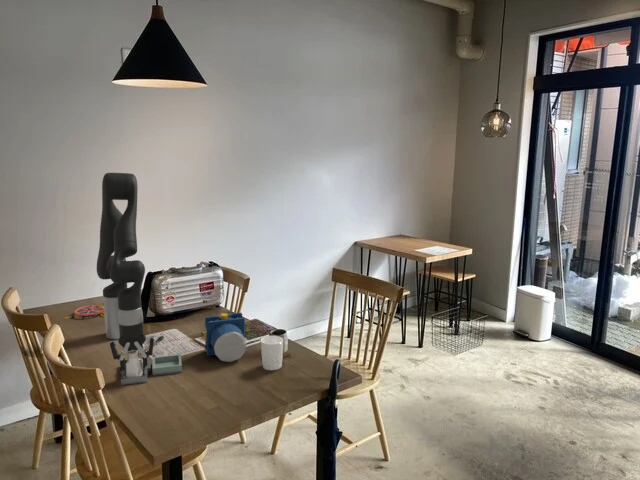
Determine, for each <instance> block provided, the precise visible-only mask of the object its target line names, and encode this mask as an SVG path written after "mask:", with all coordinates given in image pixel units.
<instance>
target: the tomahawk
mask: <svg viewBox="0 0 640 480" xmlns="http://www.w3.org/2000/svg"><path fill="white" fill-rule="evenodd" d="M164 338H165V337H164V335H160V336H159V337H157V339H156V340H154V344H153V347H155V346H156V345H157V343H158V344H159V343H160V342H161V341H162V340H163V339H164ZM144 349H145V351H147V350H148V351H149V345H148V346H147V347H144ZM139 355H142V354H141V353H140V352H138V357H139Z"/></svg>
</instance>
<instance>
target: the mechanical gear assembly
mask: <svg viewBox="0 0 640 480" xmlns="http://www.w3.org/2000/svg"><path fill="white" fill-rule="evenodd" d="M80 310H81V311H80ZM73 312H74V313H72V314H71V315H70V316H67V317H63V318H64V319H65V320H67V319H71V318H72V319H74V318H78V317H86V316H88V317H89V316H96V315H100V316H101V317H102V318H105V313H104V301H103V302H102V303H99V304H94V305H92V304H91V305H84V306H80V307H78V308H76V309H75V310H74V311H73Z"/></svg>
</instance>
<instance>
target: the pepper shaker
mask: <svg viewBox="0 0 640 480" xmlns="http://www.w3.org/2000/svg"><path fill="white" fill-rule="evenodd" d="M138 354H139V350H132V351H127V358H128V359H127V360H128V361H127V362H126V375H125V376H126V378H129V377H137V376H144V375H143V374H144V373H143V372H142V360H141V359H138Z"/></svg>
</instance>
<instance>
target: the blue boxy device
mask: <svg viewBox="0 0 640 480" xmlns="http://www.w3.org/2000/svg"><path fill="white" fill-rule="evenodd" d="M220 315H221V316H219V315H218V316H217V315H211V316H210V315H209V316H205V317H204V319H205V320H204V323H205V325H204V326H205V329H206V330H205V332H203V338H204V340H205V342H204V343H205V346H204V347H205V350H206V354H207V357H210V356H216V357H217V358H218V360H220V361H222V362H226V363H227V362H229V363H231V362H234V361H237V360H239V359H241V357H242V356H243V355H244V354H245V352H246V349H247V341H246V329H245V328H246V324H245V323H246V321H245V317H243V313H242V312H235V313H230V314H228V313H226V312H223V313H221V314H220Z"/></svg>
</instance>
